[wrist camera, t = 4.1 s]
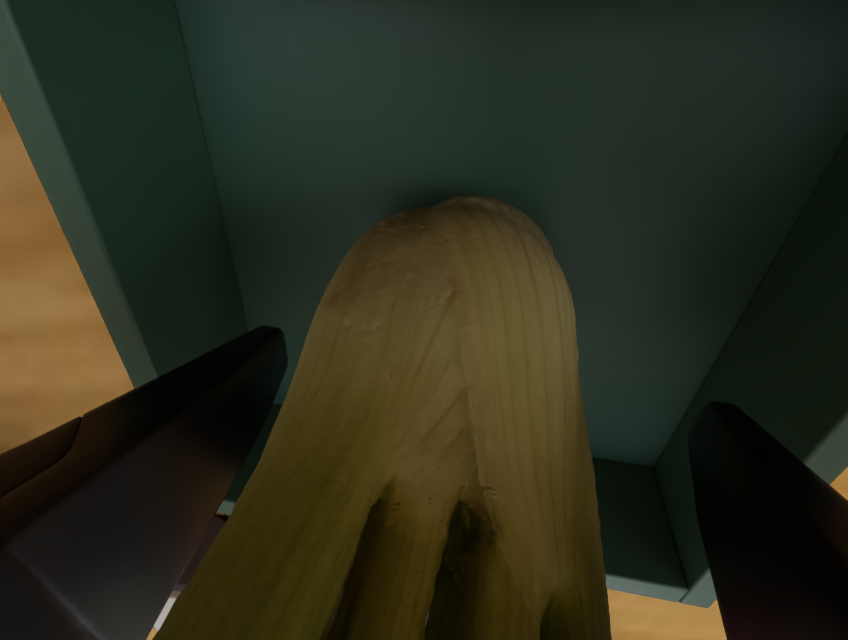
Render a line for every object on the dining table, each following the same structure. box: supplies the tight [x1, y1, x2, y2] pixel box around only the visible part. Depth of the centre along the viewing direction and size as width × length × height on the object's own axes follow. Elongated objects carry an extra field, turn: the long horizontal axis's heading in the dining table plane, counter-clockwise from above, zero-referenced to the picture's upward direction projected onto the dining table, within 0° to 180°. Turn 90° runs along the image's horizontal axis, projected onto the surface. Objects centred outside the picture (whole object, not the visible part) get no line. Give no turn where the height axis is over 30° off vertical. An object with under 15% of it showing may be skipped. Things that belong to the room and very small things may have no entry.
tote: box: [0, 0, 848, 608], centre depth 11 cm, size 16×15×4 cm
